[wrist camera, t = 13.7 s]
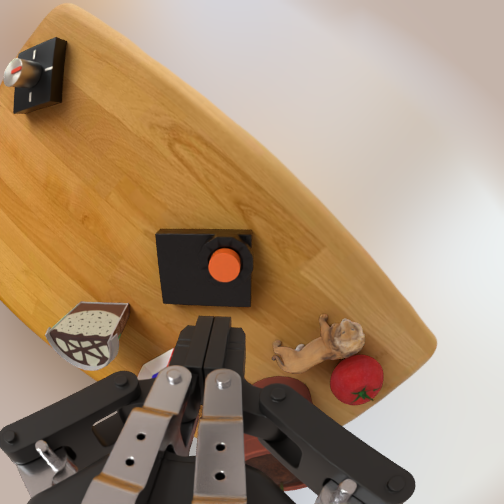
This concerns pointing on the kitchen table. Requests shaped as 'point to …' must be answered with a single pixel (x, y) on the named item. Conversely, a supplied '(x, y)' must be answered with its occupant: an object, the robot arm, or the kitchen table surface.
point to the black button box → (202, 266)
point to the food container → (89, 334)
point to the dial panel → (43, 77)
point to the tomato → (356, 379)
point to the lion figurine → (322, 346)
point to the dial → (22, 73)
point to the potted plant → (261, 456)
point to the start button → (224, 265)
